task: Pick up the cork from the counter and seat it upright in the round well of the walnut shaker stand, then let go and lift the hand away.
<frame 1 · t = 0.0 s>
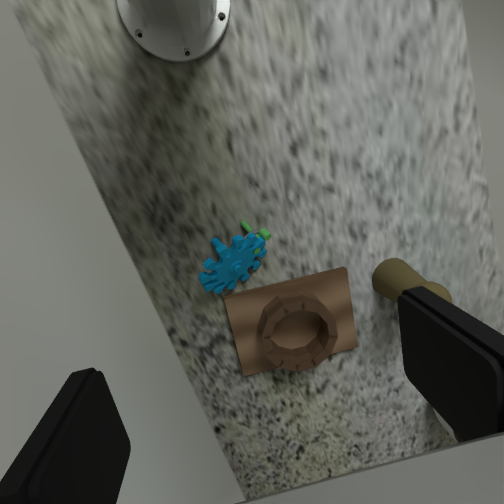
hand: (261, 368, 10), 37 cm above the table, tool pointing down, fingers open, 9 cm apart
cork: (390, 276, 52), on the table
gear: (235, 253, 48), on the table
shaker stand: (292, 320, 51), on the table
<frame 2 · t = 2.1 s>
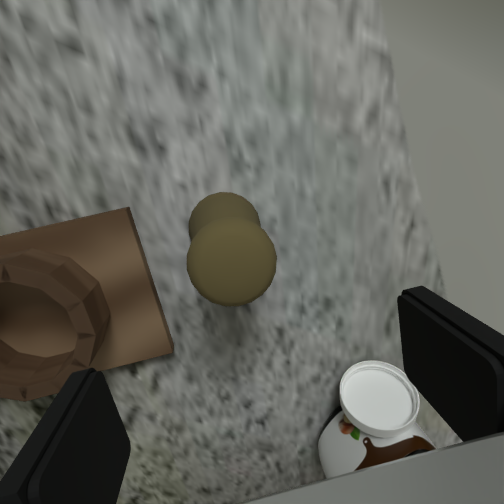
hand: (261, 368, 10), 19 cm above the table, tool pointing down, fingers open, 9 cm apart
cork: (224, 227, 29), on the table
spread jar: (356, 407, 36), on the table
shaker stand: (47, 306, 29), on the table
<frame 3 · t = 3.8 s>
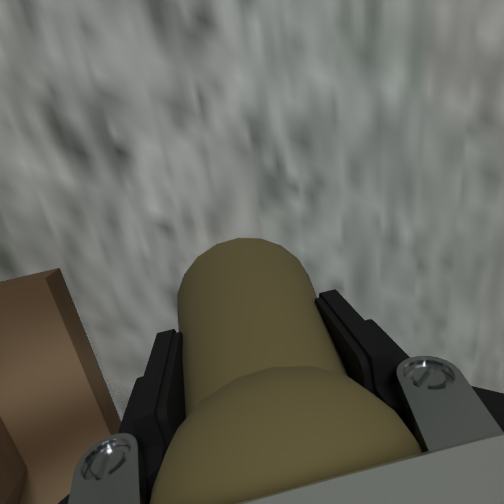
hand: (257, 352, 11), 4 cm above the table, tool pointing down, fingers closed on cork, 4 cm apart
cork: (245, 302, 15), on the table, touching gripper
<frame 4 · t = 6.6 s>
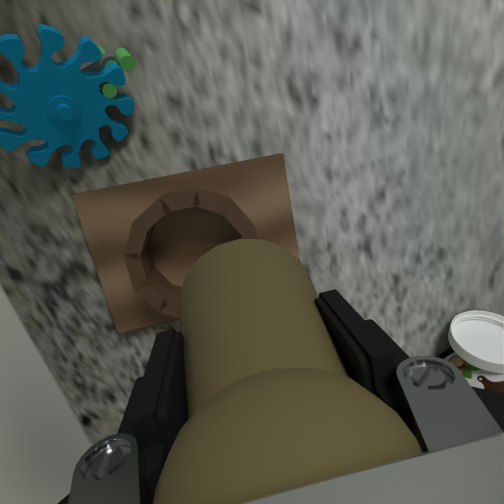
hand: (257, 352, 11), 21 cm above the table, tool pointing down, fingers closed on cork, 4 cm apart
cork: (247, 302, 15), point 17 cm above the table, touching gripper
spread jar: (454, 357, 38), on the table
gear: (87, 109, 28), on the table
shaker stand: (197, 243, 32), on the table
when the fingers open (6 cm above the table, at t = 9.5 s): cork drops 1 cm, resting on shaker stand.
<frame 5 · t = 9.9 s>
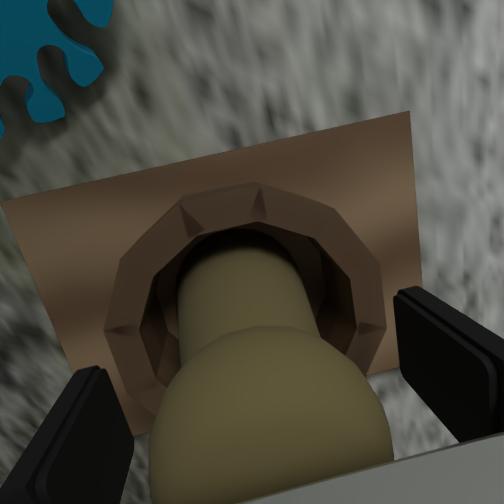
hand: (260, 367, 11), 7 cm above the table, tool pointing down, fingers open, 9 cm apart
cork: (238, 288, 17), point 1 cm above the table, touching shaker stand
gear: (21, 21, 14), on the table
shaker stand: (241, 282, 18), on the table
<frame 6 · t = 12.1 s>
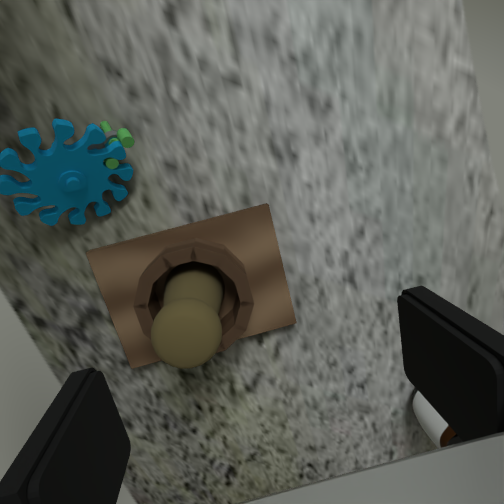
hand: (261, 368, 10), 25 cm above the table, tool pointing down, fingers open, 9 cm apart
cork: (195, 288, 34), point 1 cm above the table, touching shaker stand
spread jar: (441, 373, 42), on the table
gear: (92, 172, 32), on the table
shaker stand: (197, 286, 36), on the table
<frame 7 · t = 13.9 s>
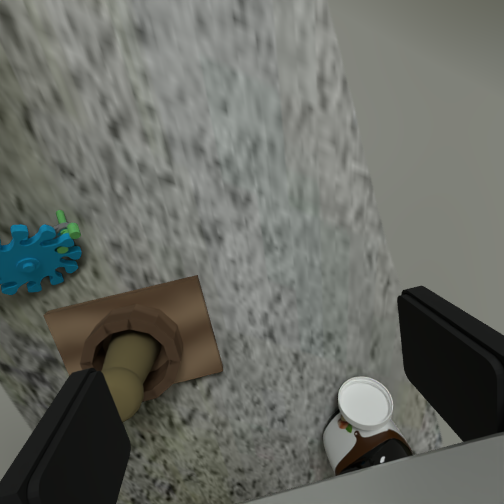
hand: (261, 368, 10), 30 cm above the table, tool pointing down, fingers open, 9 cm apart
cork: (136, 343, 42), point 1 cm above the table, touching shaker stand
spread jar: (350, 410, 49), on the table
gear: (49, 248, 39), on the table
shaker stand: (140, 339, 43), on the table
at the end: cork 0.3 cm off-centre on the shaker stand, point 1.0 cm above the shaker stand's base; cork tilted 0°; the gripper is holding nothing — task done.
